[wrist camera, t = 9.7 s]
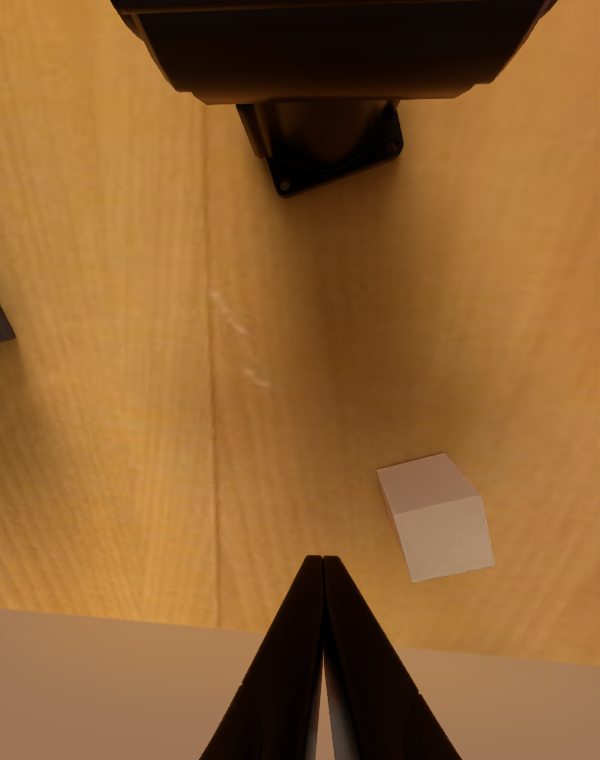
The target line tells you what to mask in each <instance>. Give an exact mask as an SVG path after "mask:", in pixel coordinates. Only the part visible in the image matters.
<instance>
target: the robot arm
mask: <svg viewBox="0 0 600 760" xmlns="http://www.w3.org/2000/svg"><path fill="white" fill-rule="evenodd" d="M110 1H111V3H112V5H113V6H114V8H115V9H116V11H117V12H118V14H119V15H120V17H121V18H122V20H123V21H124V23H125V24H126V26H127V27H128V28H129V29H130V30H131V31H132V32H133V33H134V34H135V35H136V36H137V37H139V38H140V39H141V40H143V41H144V42H145V45H146V47H147V49H148V51H149V53H150V55H151V57H152V59H153V60H154V62H155V63H156V65H157V67H158V68H159V70H160V71H161V73H162V74H163V76H164V78H165V79H166V80H167V81H168V82H169V83H170V84H171V85H172V87H173V88H174V89H175V90H176V91H178V92H192V93H193V95H194V96H195V97H196V98H198V99H199V100H201V101H202V102H204V103H205V104H207V105H217V104H236V108H237V110H238V113H239V116H240V118H241V121H242V123H243V126H244V128H245V131H246V133H247V136H248V138H249V141H250V143H251V146H252V148H253V151H254V153H255V156H257V157H258V158H260V159H262V158H265V157H266V159H267V162H268V165H269V169H270V172H271V175H272V179H273V182H274V186H275V189H276V192H277V194H278V195H279V196H280V197H281V198H290V197H293V196H295V195H298V194H301V193H304V192H306V191H309V190H312V189H315V188H317V187H320V186H323V185H326V184H328V183H331V182H334V181H337V180H340V179H342V178H345V177H348V176H351V175H353V174H356V173H359V172H362V171H364V170H367V169H370V168H373V167H375V166H378V165H381V164H384V163H386V162H389V161H392V160H394V159H396V158H397V157H398V156H399V154H400V153H401V151H402V149H403V137H402V133H401V128H400V123H399V118H398V113H397V107H398V104H399V102H400V100H412V99H451V98H456V97H458V96H459V95H461V94H463V93H465V92H466V91H468V90H470V89H471V88H472V87H473V86H474V85H475V84H489V83H491V82H492V81H493V80H494V79H495V78H496V77H497V76H498V75H499V74H500V73H501V72H502V71H503V70H504V69H505V67H506V66H507V65H508V64H509V62H510V61H511V60H512V58H513V57H514V56H515V54H516V53H517V52H518V51H519V49H520V48H521V47H522V45H523V44H524V43H525V42H526V40H527V38H528V37H529V35H530V33H531V32H532V30H533V29H534V27H535V25H536V24H537V22H538V20H539V19H540V18H541V17H542V16H544V15H545V14H546V13H547V12H548V11H549V10H550V9H551V8H552V7H553V5H554V4H555V3H556V2H557V0H110ZM389 143H393V144H395V146H396V150H395V151H390V150H389V149H388V144H389ZM284 182H287V183H289V185H290V187H289V189H288V190H285V191H284V190H282V189H281V184H282V183H284ZM323 656H324V669H325V679H326V688H327V696H328V705H329V714H330V722H331V730H332V739H333V748H334V756H335V760H462V759H461V757H460V756H459V754H458V753H457V751H456V750H455V748H454V747H453V745H452V743H451V742H450V740H449V739H448V737H447V736H446V734H445V732H444V731H443V729H442V728H441V726H440V725H439V723H438V721H437V720H436V718H435V716H434V715H433V713H432V711H431V710H430V708H429V706H428V705H427V703H426V701H425V700H424V698H423V697H422V695H421V694H419V690H418V689H417V687H416V685H415V683H414V682H413V680H412V678H411V677H410V675H409V673H408V672H407V670H406V668H405V666H404V665H403V663H402V662H401V660H400V658H399V656H398V655H397V653H396V652H395V650H394V648H393V646H392V645H391V643H390V641H389V640H388V638H387V636H386V635H385V633H384V631H383V630H382V628H381V626H380V625H379V623H378V621H377V620H376V618H375V616H374V615H373V613H372V611H371V610H370V608H369V606H368V605H367V603H366V601H365V600H364V598H363V596H362V594H361V593H360V591H359V589H358V588H357V586H356V584H355V583H354V581H353V579H352V578H351V576H350V574H349V573H348V571H347V569H346V568H345V566H344V564H343V563H342V561H341V559H340V558H339V557H338V556H323V559H322V556H320V555H307V556H306V557H305V559H304V561H303V563H302V565H301V567H300V569H299V571H298V573H297V575H296V577H295V579H294V581H293V583H292V585H291V587H290V589H289V591H288V593H287V595H286V597H285V598H284V600H283V602H282V604H281V606H280V608H279V610H278V612H277V614H276V616H275V618H274V620H273V622H272V624H271V626H270V628H269V630H268V632H267V634H266V636H265V638H264V640H263V642H262V644H261V646H260V647H259V650H258V651H257V653H256V656H255V657H254V659H253V661H252V663H251V665H250V667H249V669H248V671H247V673H246V675H245V677H244V679H243V681H242V685H241V686H240V687H239V688H238V690H237V692H236V694H235V696H234V698H233V700H232V702H231V704H230V706H229V708H228V710H227V711H226V713H225V715H224V717H223V719H222V721H221V722H220V724H219V726H218V728H217V730H216V732H215V734H214V735H213V737H212V739H211V741H210V742H209V744H208V746H207V747H206V749H205V751H204V752H203V754H202V756H201V757H200V759H199V760H315V757H316V744H317V731H318V720H319V707H320V695H321V683H322V668H323Z"/></svg>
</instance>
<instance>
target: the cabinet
mask: <svg viewBox="0 0 600 760" xmlns="http://www.w3.org/2000/svg"><path fill="white" fill-rule="evenodd" d="M13 338H15V335H14V333H13V331H12V329H11V328H10V326H9V324H8V322H7V320H6V318H5V316H4V314H3V312H2V310H1V308H0V343H1V342H4V341H7V340H10V339H13Z"/></svg>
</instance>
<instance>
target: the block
mask: <svg viewBox="0 0 600 760" xmlns="http://www.w3.org/2000/svg"><path fill="white" fill-rule="evenodd" d="M376 472H377V476H378V479H379V483H380V486H381V490H382V494H383V497H384V501H385V504H386V508H387V511H388V515H389V518H390V522H391V526H392V529H393V531H394V534H395V537H396V540H397V543H398V546H399V549H400V551H401V554H402V557H403V560H404V563H405V566H406V569H407V571H408V574H409V577H410V580H411V582H412V583H416V582H421V581H425V580H430V579H435V578H440V577H445V576H450V575H454V574H459V573H464V572H469V571H474V570H479V569H484V568H488V567H493V566H495V561H494V556H493V551H492V546H491V541H490V536H489V531H488V525H487V520H486V515H485V510H484V505H483V500H482V495H481V494H480V493H479V492H478V490H477V489H476V488H475V487H474V486H473V485H472V484H471V482H470V481H469V480H468V479H467V478H466V477H465V475H464V474H463V473H462V472H461V471H460V470H459V469H458V467H457V466H456V465H455V464H454V463H453V462H452V461H451V459H450V458H449V457H448V456H447V455H446V454H445V453H441V454H437V455H433V456H429V457H425V458H421V459H417V460H413V461H409V462H405V463H401V464H397V465H394V466H390V467H386V468H382V469H378V470H376Z"/></svg>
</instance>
